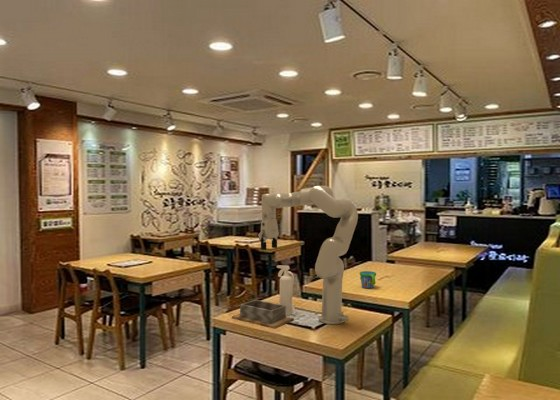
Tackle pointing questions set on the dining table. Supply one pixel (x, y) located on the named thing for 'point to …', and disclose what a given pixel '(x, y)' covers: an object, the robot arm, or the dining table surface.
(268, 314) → the caddy
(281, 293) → the fire extinguisher
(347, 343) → the dining table surface
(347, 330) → the dining table surface
